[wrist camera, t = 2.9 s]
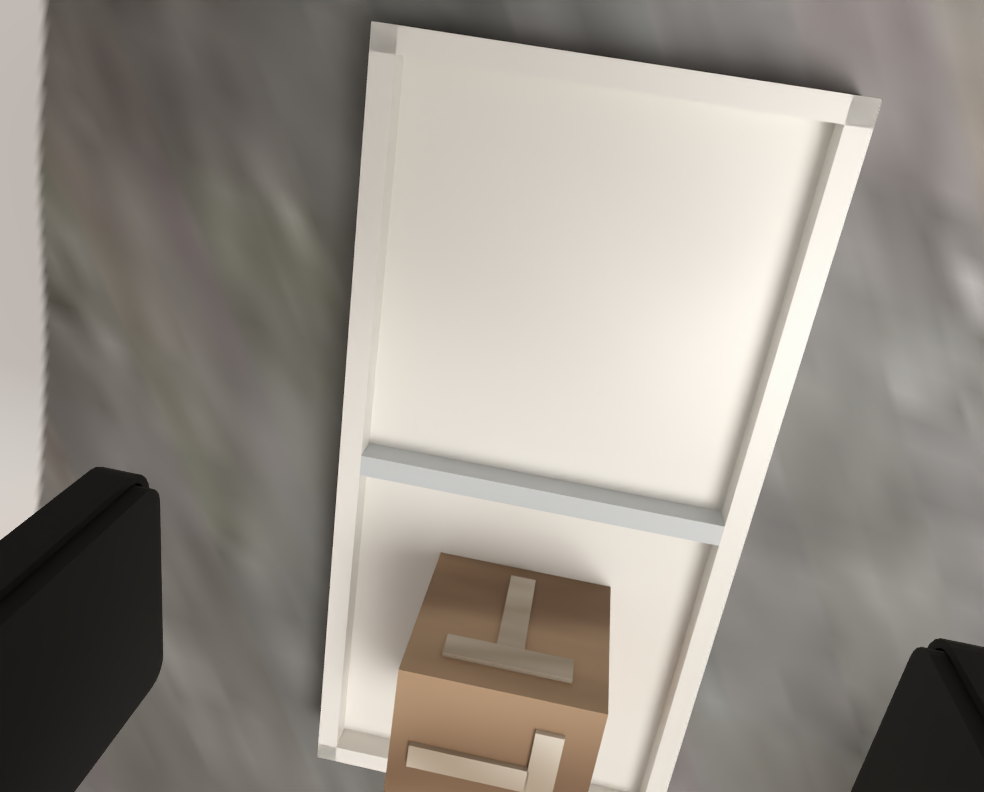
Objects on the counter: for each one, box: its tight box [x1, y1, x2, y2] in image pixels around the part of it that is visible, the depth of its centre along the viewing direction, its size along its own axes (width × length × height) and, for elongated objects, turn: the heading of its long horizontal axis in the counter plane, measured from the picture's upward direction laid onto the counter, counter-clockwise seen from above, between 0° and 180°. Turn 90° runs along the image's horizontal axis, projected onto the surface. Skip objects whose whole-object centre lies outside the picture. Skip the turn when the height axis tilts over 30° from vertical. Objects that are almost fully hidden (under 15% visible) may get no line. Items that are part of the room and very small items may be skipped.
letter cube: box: [384, 552, 611, 792], centre depth 22 cm, size 5×5×5 cm
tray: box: [318, 21, 883, 792], centre depth 23 cm, size 22×11×2 cm, turn 172°
